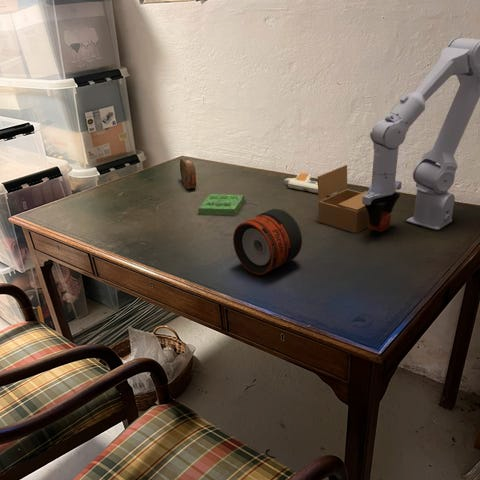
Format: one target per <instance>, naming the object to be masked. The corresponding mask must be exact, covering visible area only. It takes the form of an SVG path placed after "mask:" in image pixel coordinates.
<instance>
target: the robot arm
mask: <svg viewBox="0 0 480 480" xmlns="http://www.w3.org/2000/svg"><path fill="white" fill-rule="evenodd" d="M453 76H456V77H457V80H458V83H459V86H458V88H457V90H456V93H455V95H454V98H453V100H452V103H451V105H450V107H449V110H448V112H447V114H446V116H445V119H444V120H443V123H442V126H441V128H440V131H439V132H438V135H437V138H436V140H435V142H434V145H433V147H432V148H431V149H430V150H428V151H427V152H425V153H423V154H422V156H421V159H420V161H419V162H418V163H417V164H416V165H415V167H414V169H413V171H412V179H413V181H414V182H415V187H416V193H415V202H414V209H413V216H410V217H409V218H407V219H406V222H407V223H410V224H414V225H417V226H422V227H424V228H427V229H432V230H434V231H435V230H436V231H438V230H440V229H442V228H444V227H446V226H447V225H448V224H450V223H452V222H453V219H452V218H453V212H454V206H455V200H456V198H455V194H453V193H451V192H449V191H448V190H450V189H451V188H452V186H453V184H454V183H455V178H456V177H455V176H456V172H457V170H458V163H457V160H456V158H455V153H456V151H457V149H458V147H459V145H460V143H461V141H462V137H463V136H464V133H465V131H466V129H467V127H468V125H469V123H470V119H471V118H472V115H473V113H474V111H475V109H476V106H477V104H478V103H479V101H480V100H479V99H480V38H479V39H477V38H467V37H463V36H457V37H454V38H452V39H451V40H450V41H449V42H448V43H447V46H446V47H444V48H443V49H442V50H441V52H440V58H439V59H438V61H436V64H435V65H434V66H433V68H432V69H431V70H430V71H429V72H428V74H427V75H426V76H425V78H424V79H423V80H422V81H421V83H420V84H419V85H418V86H417V88H416V90H414V91H413V92H407V93H406V94H405V95H402V96H401V97H400V98H399V102H398V103H397V104H396V105H395V106H394V107H393V108H392V109H391V111H390V112H389V113H387V114H386V116H385V118H384V119H381V120H379V121H377V122H376V123H375V125H374V126H373V128H372V130H371V131H370V132H369V138H370V140H371V142H372V143H373V144H372V145H373V148H372V149H373V159H372V170H371V171H372V173H371V184H370V185H368V186H367V191H368V192H367V193H366V194H365V195H364V196H363V197H362V204H364V205H365V206H366V208H367V211H368V214H369V219H370V224H371V225H372V226H376V227H377V226H379V223H380V219H381V214H382V211H385V212H389V213H391V214H392V212H393V210H394V207H395V205H396V203H397V201H398V200H399V198H400V197H401V193H399V192H396V191H397V190H398V191H399V190H402V183H403V182H402V181H399V180H396V179H397V177H396V175H397V167H398V159H399V158H398V157H399V147H400V146H401V145H402V144H404V142H405V140H406V136H407V133H408V132H409V129H410V127H411V126H412V125H413V124H414V123H415V121H417V119H418V118H419V116H421V115H422V114H423V112H425V110H426V102H427V101H428V100H429V99H430V98H431V97H432V96H433V95H434V94H435V92H437V91H438V90H439V89H440V88H441V87H442V86H443V85H444V84H445V83H446V82H447V80H449V79H450V78H451V77H453Z"/></svg>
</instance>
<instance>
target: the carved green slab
mask: <svg viewBox="0 0 480 480" xmlns="http://www.w3.org/2000/svg"><path fill="white" fill-rule="evenodd" d="M244 203H245V194H218V193H215V194H214V193H210V194H208V196H207V197H206V198H205V199H204V201H203V202H201V204H200V205H199V206H198V208H197V209H198V214H199V215H204V216H205V215H206V216H208V215H209V216H232V217H233V216H236V215H237V213H238V212H239V210H240V209H241V207H242V206H243V204H244Z"/></svg>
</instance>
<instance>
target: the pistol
mask: <svg viewBox="0 0 480 480" xmlns="http://www.w3.org/2000/svg"><path fill="white" fill-rule="evenodd" d="M311 179H312V174H310V173H301V172H299V173H298V174H297V176H296V177H287V178H284V181H283V183H284V184H286V185H287V188H289V189H294V190H299V191H304V192H307V193H314V194H318V181H315V180H311ZM337 193H339V191H337V192H335V193H332V194H330V195H328V196H327V197H330V196H332V195H335V194H337Z"/></svg>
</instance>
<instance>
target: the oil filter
mask: <svg viewBox="0 0 480 480" xmlns="http://www.w3.org/2000/svg"><path fill="white" fill-rule="evenodd" d="M232 243H233V248H234V249H233V250H234V252H235V255H236V257H237V259H238V261H239V262H240V263H241V265H242V266H243V267H244V268H245V269H246V270H247V271H248V272H250V273H251V274H253V275H258V276H262V275H265V274H267V273H269V272H271V271H273V270H274V269H276V268H278V267H281V266H283V265H285V264H287V263H289V262H290V261H293V260H295V258H296V257H297V256H298V255H299V254H300V252H301V249H302V245H303V235H302V231H301V228H300V226H299V224H298V222H297V220H296V219H295V217H293V216H292V215H291V214H290V213H289V212H287V211H285V210H283V209H280V208H279V209H278V208H272V209H269V210H266V211H264V212H262V213H260V214H257V215H256V216H255V217H253V218H250V219H248V220H246V221H244V222H242V223H240V224H238V225H237V226H236V228H235V229H234V232H233V237H232Z"/></svg>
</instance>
